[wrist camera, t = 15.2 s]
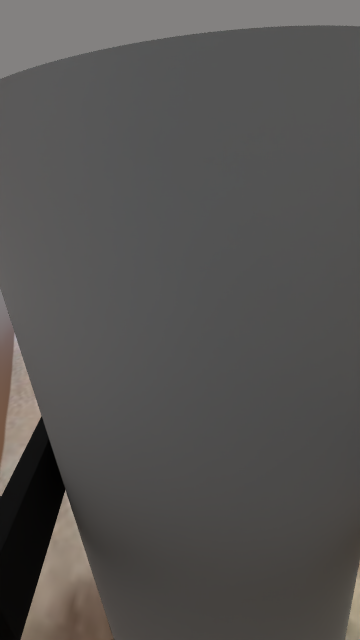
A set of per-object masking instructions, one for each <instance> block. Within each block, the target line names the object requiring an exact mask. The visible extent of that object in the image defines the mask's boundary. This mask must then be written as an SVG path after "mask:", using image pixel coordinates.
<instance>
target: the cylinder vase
mask: <svg viewBox="0 0 360 640" xmlns="http://www.w3.org/2000/svg"><path fill="white" fill-rule="evenodd" d="M0 288H1V291H2V295H3V297H4V301H5V304H6V307H7V310H8V313H9V316H10V319H11V322H12V325H13V328H14V332H15V335H16V338H17V341H18V344H19V347H20V350H21V353H22V356H23V360H24V363H25V366H26V369H27V372H28V375H29V378H30V381H31V384H32V387H33V390H34V394H35V397H36V400H37V403H38V406H39V409H40V412H41V415H42V418H43V421H44V424H45V428H46V431H47V434H48V437H49V440H50V443H51V446H52V449H53V452H54V455H55V458H56V462H57V465H58V468H59V471H60V474H61V477H62V480H63V483H64V486H65V489H66V492H67V496H68V499H69V502H70V505H71V508H72V511H73V514H74V517H75V520H76V523H77V526H78V530H79V533H80V536H81V539H82V542H83V545H84V548H85V551H86V554H87V557H88V561H89V564H90V567H91V570H92V573H93V576H94V579H95V582H96V585H97V588H98V591H99V595H100V598H101V601H102V604H103V607H104V610H105V613H106V616H107V619H108V622H109V625H110V629H111V632H112V635H113V638H114V640H345V636H346V631H347V626H348V620H349V615H350V609H351V604H352V599H353V593H354V588H355V583H356V577H357V572H358V567H359V561H360V27H357V26H285V27H284V26H283V27H264V28H251V29H238V30H227V31H217V32H208V33H200V34H192V35H184V36H177V37H170V38H164V39H157V40H151V41H145V42H139V43H133V44H128V45H123V46H118V47H113V48H108V49H103V50H98V51H94V52H89V53H85V54H81V55H77V56H73V57H69V58H65V59H61V60H57V61H54V62H50V63H46V64H43V65H40V66H36V67H33V68H30V69H27V70H24V71H21V72H18V73H15V74H12V75H10V76H7V77H4V78H2V79H0Z"/></svg>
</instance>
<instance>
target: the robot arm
mask: <svg viewBox="0 0 360 640" xmlns="http://www.w3.org/2000/svg"><path fill="white" fill-rule="evenodd" d="M64 493H65V486H64V483H63V480H62V477H61V474H60V471H59V468H58V465H57V462H56V458H55V455H54V452H53V449H52V446H51V443H50V440H49V437H48V434H47V431H46V428H45V424H44V421H43V418H42V416H41V418H40V420H39V422H38V424H37V426H36V428H35V430H34V432H33V434H32V436H31V438H30V440H29V442H28V444H27V446H26V448H25V450H24V452H23V454H22V456H21V458H20V460H19V462H18V464H17V466H16V468H15V470H14V472H13V474H12V476H11V478H10V480H9V482H8V484H7V486H6V488H5V490H4V492H3V494H2V496H0V640H20V639H21V636H22V633H23V629H24V626H25V623H26V619H27V616H28V613H29V609H30V606H31V603H32V599H33V596H34V593H35V589H36V586H37V583H38V579H39V576H40V573H41V569H42V566H43V563H44V559H45V556H46V553H47V549H48V546H49V543H50V539H51V536H52V533H53V529H54V526H55V523H56V519H57V516H58V513H59V509H60V506H61V503H62V499H63V496H64Z"/></svg>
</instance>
